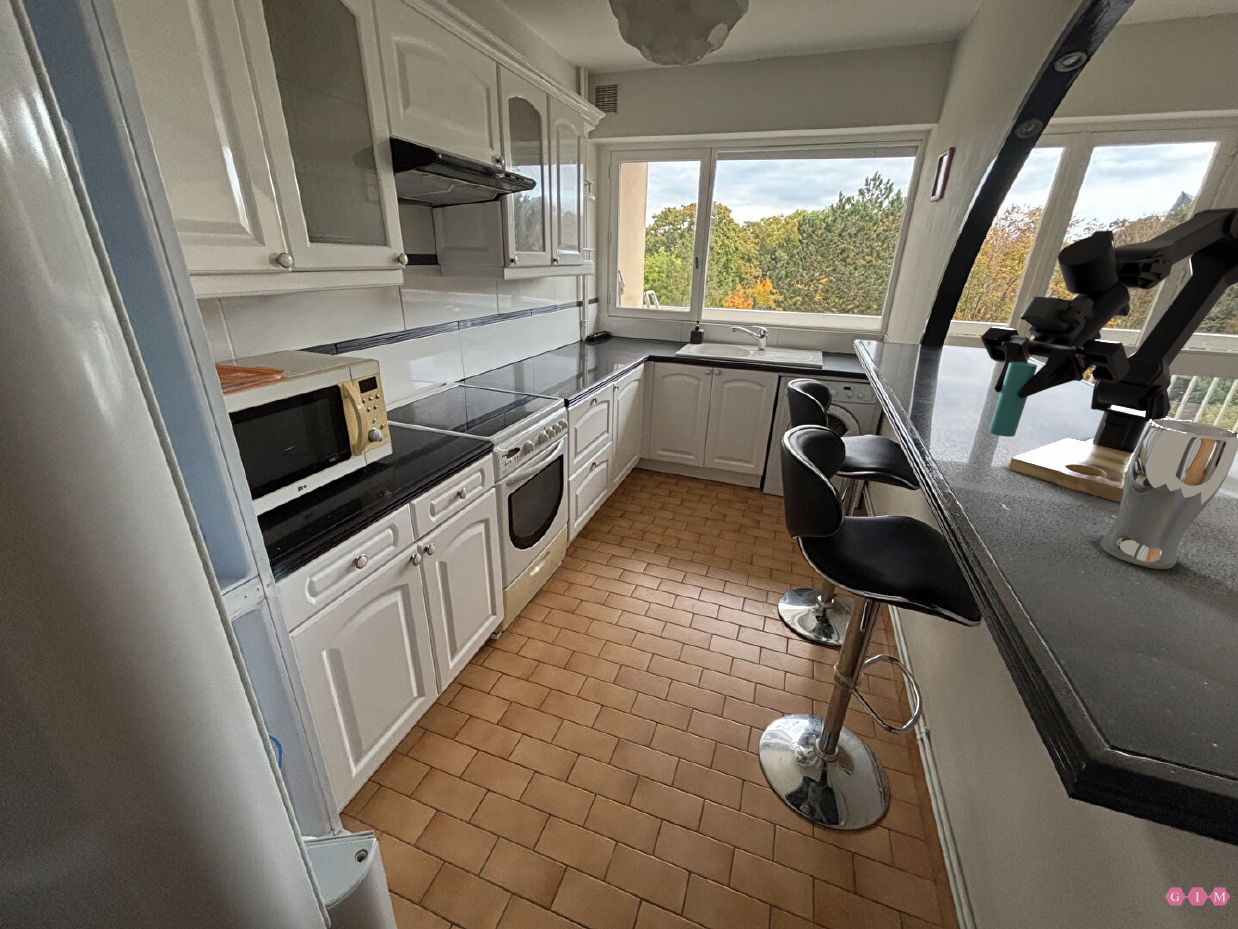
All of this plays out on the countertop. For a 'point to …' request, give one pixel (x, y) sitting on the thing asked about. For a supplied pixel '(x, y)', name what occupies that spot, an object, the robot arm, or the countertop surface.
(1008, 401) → the peg
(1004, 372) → the robot arm
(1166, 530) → the beer glass
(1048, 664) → the countertop surface
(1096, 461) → the board
